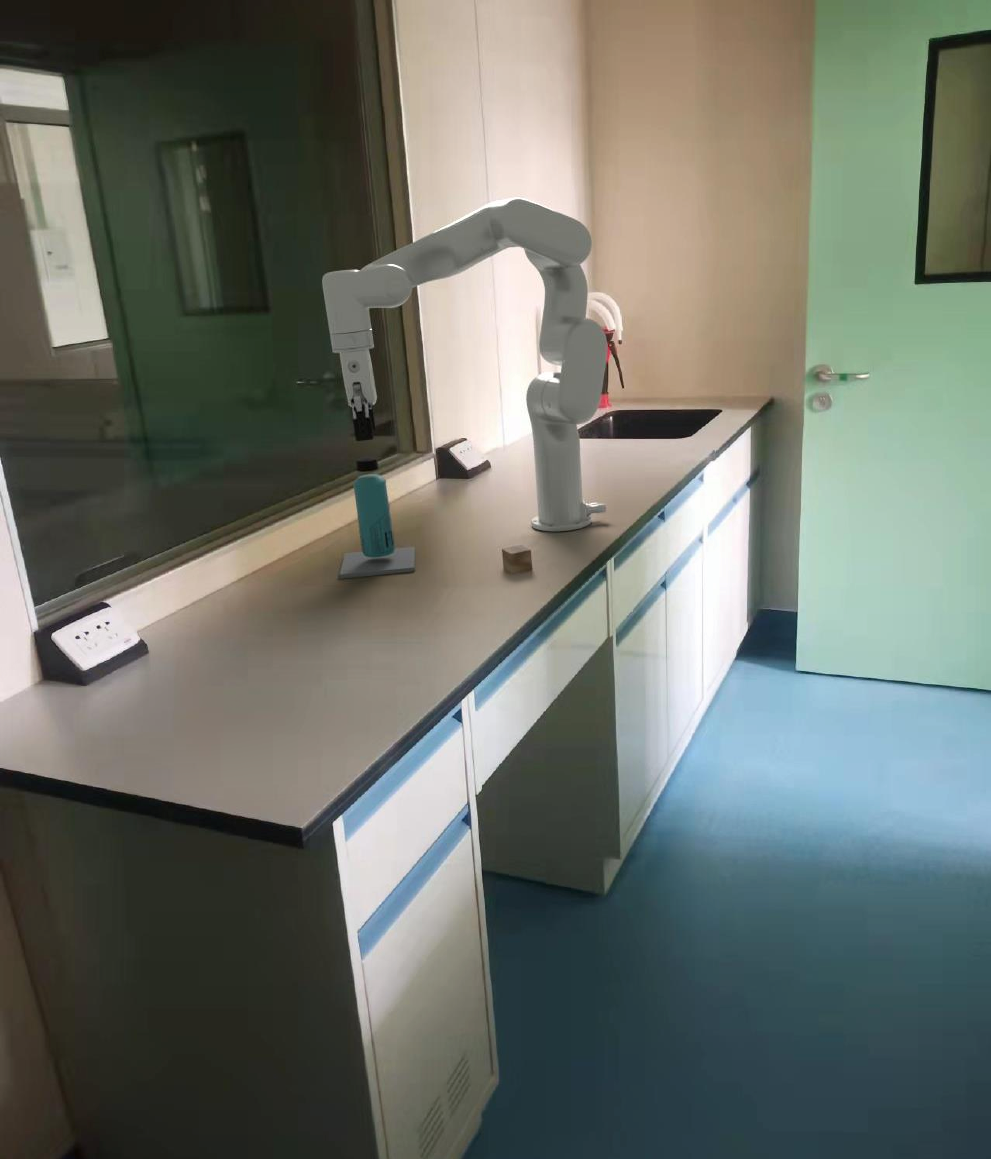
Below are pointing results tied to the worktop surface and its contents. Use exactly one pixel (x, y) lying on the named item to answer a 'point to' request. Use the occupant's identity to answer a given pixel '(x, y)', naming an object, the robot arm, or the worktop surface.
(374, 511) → the beverage bottle
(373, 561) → the rubber mat
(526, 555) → the walnut block
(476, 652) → the worktop surface
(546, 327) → the robot arm
